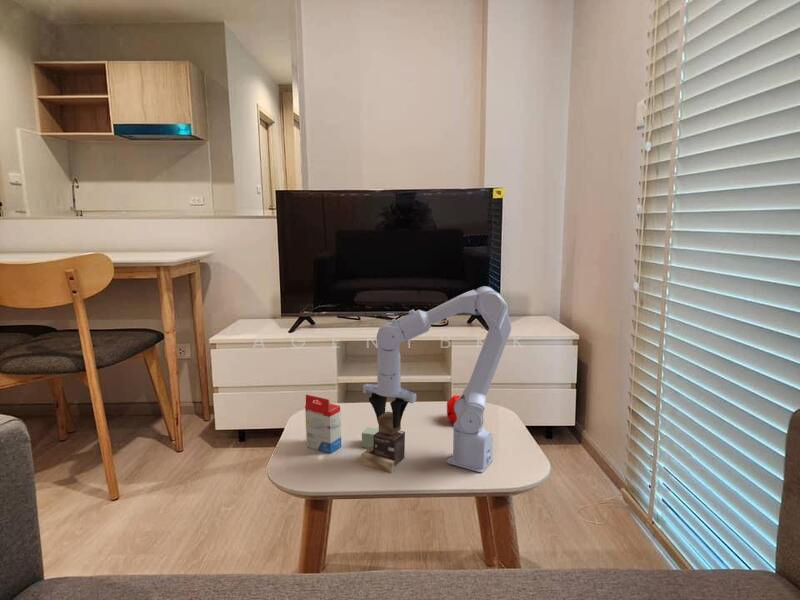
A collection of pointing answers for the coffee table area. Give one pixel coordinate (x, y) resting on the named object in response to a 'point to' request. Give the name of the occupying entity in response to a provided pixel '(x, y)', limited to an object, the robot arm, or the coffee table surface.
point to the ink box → (322, 424)
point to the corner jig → (376, 461)
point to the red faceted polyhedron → (452, 408)
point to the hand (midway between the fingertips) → (389, 424)
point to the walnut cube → (387, 424)
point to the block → (368, 437)
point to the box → (390, 446)
